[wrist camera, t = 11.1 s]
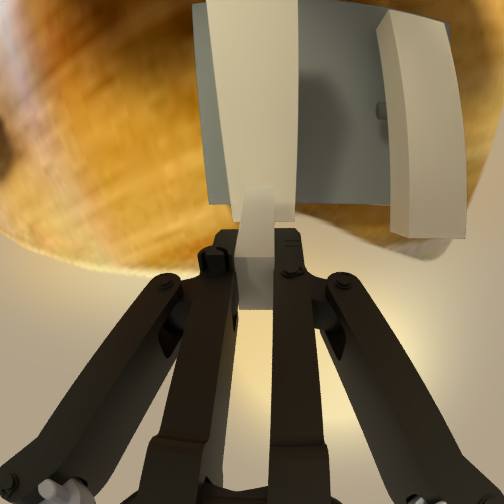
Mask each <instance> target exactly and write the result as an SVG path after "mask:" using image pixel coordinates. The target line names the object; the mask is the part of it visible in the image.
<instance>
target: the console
mask: <svg viewBox="0 0 504 504" xmlns="http://www.w3.org/2000/svg"><path fill="white" fill-rule="evenodd" d="M389 9H390V10H395V11H400V12H404V13H409V14H413V15H417V16H421V17H425V18H429V17H426V16H422V15H418V14H414V13H410V12H405V11H401V10H396V9H391V8H386V7H381V6H375V5H369V4H362V3H355V2H347V1H338V0H298V137H297V169H296V194H295V203H315V204H369V205H381V206H390V151H389V132H388V118H387V107H386V97H385V88H384V79H383V71H382V64H381V57H380V51H379V45H378V39H377V33H376V29H377V27H378V26H379V24H380V22H381V21H382V19H383V18H384V16H385V15H386V13H387V11H388V10H389ZM192 16H193V33H194V48H195V63H196V76H197V89H198V101H199V112H200V123H201V134H202V144H203V154H204V164H205V173H206V182H207V191H208V200H209V205H215V204H231V202H230V194H229V186H228V179H227V171H226V163H225V156H224V148H223V140H222V132H221V124H220V116H219V108H218V99H217V91H216V83H215V74H214V66H213V57H212V49H211V40H210V31H209V22H208V13H207V3H206V2H203V3H195V4H192ZM429 19H432V20H436V21H439V22H443V21H440V20H437V19H433V18H429ZM443 23H444V25H445V29H446V32H447V36H448V40H449V44H450V23H447V22H443Z"/></svg>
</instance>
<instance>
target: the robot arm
mask: <svg viewBox="0 0 504 504" xmlns="http://www.w3.org/2000/svg"><path fill="white" fill-rule="evenodd" d="M197 256H198V262H199V267H200V275H199V276H197V277H194V278H191V279H186V280H182V281H181V279H180V277H179V276H178V275H176V274H173V273H164V274H160V275H158V276H155V277H154V278H153V279H152V280H151V281H150V282H149V283H148V285H147V286H146V287H145V288H144V289H143V291H142V292H141V293H140V295H139V296H138V297H137V298H136V300H135V301H134V302H133V304H132V305H131V306H130V307H129V309H128V310H127V311H126V313H125V314H124V315H123V316H122V318H121V319H120V320H119V322H118V323H117V324H116V326H115V327H114V328H113V330H112V331H111V332H110V334H109V335H108V336H107V338H106V339H105V340H104V342H103V343H102V344H101V346H100V347H99V348H98V350H97V351H96V353H95V354H94V355H93V357H92V358H91V360H90V361H89V362H88V363H87V365H86V366H85V368H84V369H83V371H82V372H81V373H80V375H79V376H78V378H77V379H76V380H75V382H74V383H73V385H72V386H71V388H70V389H69V390H68V392H67V393H66V395H65V396H64V398H63V399H62V401H61V402H60V404H59V405H58V407H57V408H56V410H55V411H54V413H53V414H52V416H51V417H50V419H49V420H48V422H47V423H46V425H45V426H44V428H43V429H42V431H41V432H40V434H39V436H38V437H37V438H36V439H35V440H33V441H32V442H31V443H30V444H28V445H27V446H26V447H25V448H23V449H22V450H21V451H20V452H18V453H17V454H16V455H15V456H13V457H12V458H11V459H10V460H8V461H7V462H6V463H5V464H3V465H2V466H1V467H0V495H1V497H2V498H3V499H5V500H6V501H8V502H10V503H12V504H96V502H95V499H94V496H96V495H97V494H98V493H99V492H100V490H101V489H102V488H103V487H104V485H105V484H106V483H107V481H108V480H109V478H110V477H111V475H112V474H113V472H114V470H115V468H116V466H117V464H118V463H119V461H120V459H121V457H122V455H123V453H124V452H125V450H126V448H127V446H128V444H129V443H130V441H131V439H132V437H133V435H134V433H135V432H136V430H137V428H138V426H139V424H140V423H141V421H142V419H143V417H144V415H145V413H146V412H147V410H148V408H149V406H150V405H151V403H152V401H153V399H154V397H155V395H156V394H157V392H158V390H159V388H160V386H161V385H162V383H163V381H164V379H165V377H166V376H167V374H168V372H169V370H170V369H171V367H172V365H173V363H174V361H175V360H176V358H177V361H176V364H175V368H174V372H173V376H172V380H171V385H170V389H169V393H168V397H167V401H166V406H165V410H164V414H163V418H162V423H161V427H160V431H159V433H158V434H157V435H156V436H154V437H152V439H151V440H150V442H149V445H148V448H147V452H146V457H145V461H144V466H143V470H142V475H141V480H140V485H139V489H138V491H136V492H135V493H133V494H132V495H131V496H129V497H128V498H127V499H126V500H124V501H123V502H122V503H120V504H342V503H341V502H340V501H338V500H337V499H335V498H333V497H331V494H330V470H329V455H328V448H327V445H326V444H325V442H324V435H323V419H322V405H321V393H320V381H319V369H318V359H317V348H316V339H315V329H314V328H316V329H320V333H321V336H322V338H323V340H324V342H325V344H326V347H327V349H328V351H329V354H330V356H331V358H332V360H333V363H334V365H335V367H336V369H337V372H338V374H339V377H340V379H341V381H342V383H343V386H344V388H345V391H346V393H347V395H348V398H349V400H350V402H351V405H352V407H353V409H354V412H355V414H356V417H357V419H358V421H359V424H360V426H361V429H362V431H363V433H364V436H365V438H366V441H367V443H368V445H369V448H370V450H371V452H372V455H373V458H374V460H375V463H376V465H377V468H378V470H379V473H380V475H381V478H382V480H383V482H384V485H385V487H386V489H387V491H388V494H389V496H390V497H391V499H392V501H393V502H394V504H504V495H503V494H502V492H501V491H500V490H499V489H498V488H497V487H496V486H495V485H494V484H493V483H492V482H491V481H490V480H489V479H487V478H486V477H485V476H484V475H483V474H482V473H481V472H480V471H479V470H478V469H477V468H476V467H475V466H474V465H472V464H471V463H470V462H469V461H468V460H467V459H466V458H465V457H464V456H463V455H462V453H461V451H460V449H459V447H458V445H457V443H456V441H455V439H454V438H453V436H452V433H451V432H450V430H449V428H448V426H447V424H446V422H445V420H444V418H443V416H442V415H441V413H440V411H439V409H438V407H437V406H436V404H435V402H434V400H433V398H432V396H431V395H430V393H429V391H428V389H427V388H426V386H425V384H424V382H423V381H422V379H421V377H420V376H419V374H418V372H417V370H416V369H415V367H414V365H413V364H412V362H411V360H410V358H409V357H408V355H407V354H406V352H405V350H404V349H403V347H402V345H401V344H400V342H399V340H398V339H397V337H396V336H395V334H394V332H393V331H392V329H391V328H390V326H389V325H388V323H387V321H386V320H385V318H384V317H383V315H382V314H381V312H380V310H379V309H378V307H377V306H376V304H375V303H374V301H373V300H372V299H371V297H370V295H369V294H368V292H367V291H366V289H365V288H364V286H363V285H362V283H361V282H360V280H359V279H358V278H357V277H356V276H354V275H352V274H350V273H346V272H336V273H333V274H331V275H330V276H329V277H328V279H322V278H319V277H315V276H313V275H311V274H310V273H309V272H308V271H307V269H306V268H305V265H304V257H303V250H302V243H301V235H300V233H299V232H298V231H297V230H296V229H295V228H274V187H246V191H245V197H244V202H243V208H242V214H241V219H240V225H239V229H225V230H220V231H219V232H218V233H217V234H216V235H215V239H214V243H213V246H208V247H205V248H203V249H202V250H201V251H200V252H199V253H198V255H197ZM238 304H239V309H241V310H244V309H245V310H273V348H272V393H271V428H270V452H269V477H268V486H265V487H260V488H255V489H250V490H245V491H231V490H228V489H225V488H223V471H222V465H223V455H224V445H225V436H226V427H227V417H228V408H229V399H230V389H231V381H232V371H233V362H234V353H235V345H236V336H237V327H238Z"/></svg>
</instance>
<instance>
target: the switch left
mask: <svg viewBox="0 0 504 504" xmlns="http://www.w3.org/2000/svg"><path fill="white" fill-rule="evenodd" d="M206 3H207V13H208V22H209V31H210V40H211V49H212V57H213V66H214V74H215V83H216V91H217V99H218V108H219V116H220V124H221V132H222V140H223V148H224V156H225V163H226V171H227V179H228V186H229V194H230V202H231V209H232V216H233V222H240V219H241V214H242V208H243V202H244V197H245V191H246V187H274V222H289V221H291V222H292V221H293V222H294V216H295V194H296V169H297V137H298V0H206Z"/></svg>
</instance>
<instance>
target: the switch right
mask: <svg viewBox="0 0 504 504" xmlns="http://www.w3.org/2000/svg"><path fill="white" fill-rule="evenodd" d="M376 33H377V39H378V45H379V51H380V57H381V64H382V71H383V79H384V88H385V97H386V107H387V118H388V132H389V151H390V232H392V233H395V234H398V235H401V236H404V237H407V238H436V239H465V234H466V212H467V172H466V150H465V137H464V126H463V117H462V109H461V101H460V95H459V88H458V82H457V77H456V72H455V67H454V62H453V57H452V53H451V48H450V44H449V40H448V36H447V32H446V29H445V25H444V23H443V22H439V21H436V20H432V19H429V18H425V17H421V16H417V15H413V14H409V13H404V12H400V11H395V10H390V9H389V10H388V11H387V13H386V15H385V16H384V18H383V19H382V21H381V22H380V24H379V26H378V27H377V29H376Z"/></svg>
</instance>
